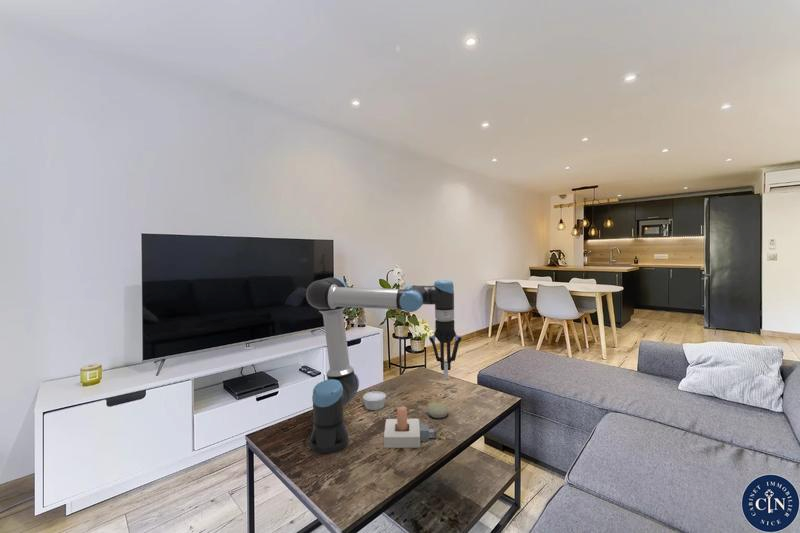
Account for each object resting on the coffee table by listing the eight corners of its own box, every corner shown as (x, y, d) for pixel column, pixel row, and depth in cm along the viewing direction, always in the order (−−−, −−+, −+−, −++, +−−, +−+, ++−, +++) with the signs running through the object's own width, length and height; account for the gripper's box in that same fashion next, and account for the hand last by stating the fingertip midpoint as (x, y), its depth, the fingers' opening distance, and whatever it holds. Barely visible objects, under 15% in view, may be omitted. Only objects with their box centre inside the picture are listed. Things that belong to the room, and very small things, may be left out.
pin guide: (419, 441, 135) (419, 430, 135) (419, 433, 140) (419, 424, 140) (429, 440, 135) (428, 430, 135) (428, 433, 140) (428, 424, 140)
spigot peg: (397, 440, 136) (396, 410, 135) (397, 434, 140) (397, 406, 139) (407, 440, 136) (406, 410, 135) (407, 434, 140) (406, 406, 139)
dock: (383, 447, 131) (383, 437, 131) (386, 428, 145) (386, 419, 145) (420, 447, 131) (420, 436, 130) (419, 428, 145) (419, 418, 144)
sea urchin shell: (449, 416, 151) (436, 403, 151) (437, 427, 152) (424, 414, 153) (450, 406, 160) (437, 394, 160) (438, 417, 161) (426, 405, 162)
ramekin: (386, 400, 172) (386, 390, 171) (385, 411, 161) (385, 400, 160) (364, 401, 172) (364, 391, 172) (361, 411, 161) (361, 401, 160)
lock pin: (411, 438, 136) (411, 431, 136) (411, 434, 139) (411, 427, 139) (436, 438, 136) (436, 431, 136) (436, 434, 139) (436, 427, 139)
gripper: (428, 321, 131) (430, 381, 132) (462, 321, 131) (463, 381, 132) (427, 317, 139) (428, 374, 140) (459, 317, 138) (460, 374, 140)
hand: (445, 377), depth 136 cm, fingers closed
